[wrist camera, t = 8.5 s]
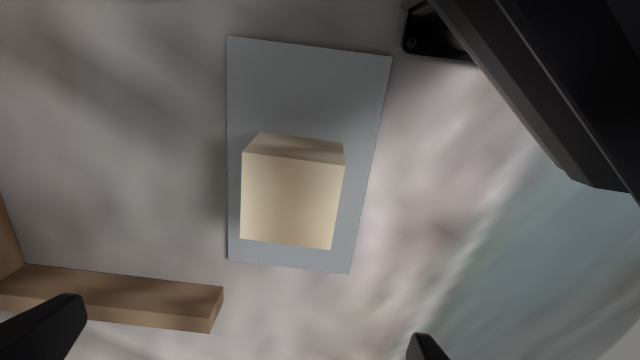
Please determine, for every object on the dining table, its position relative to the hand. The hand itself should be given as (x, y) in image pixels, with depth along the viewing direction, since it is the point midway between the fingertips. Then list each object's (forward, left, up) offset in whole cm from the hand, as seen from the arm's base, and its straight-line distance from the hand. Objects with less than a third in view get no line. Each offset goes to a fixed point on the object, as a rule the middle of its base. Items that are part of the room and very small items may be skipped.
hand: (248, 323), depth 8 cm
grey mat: (0, 0, -12) cm, 12 cm away
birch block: (0, 0, -12) cm, 12 cm away
